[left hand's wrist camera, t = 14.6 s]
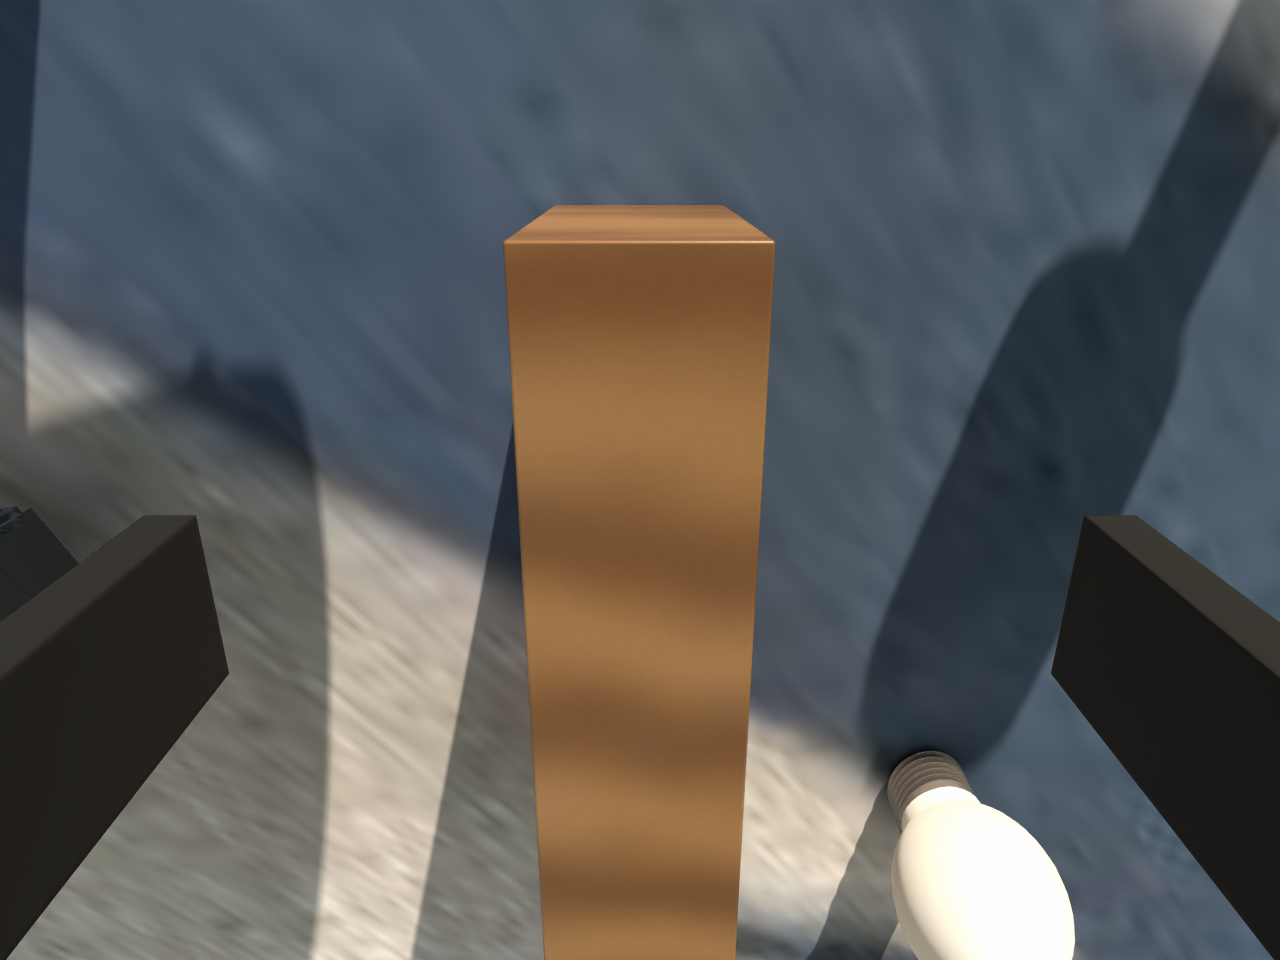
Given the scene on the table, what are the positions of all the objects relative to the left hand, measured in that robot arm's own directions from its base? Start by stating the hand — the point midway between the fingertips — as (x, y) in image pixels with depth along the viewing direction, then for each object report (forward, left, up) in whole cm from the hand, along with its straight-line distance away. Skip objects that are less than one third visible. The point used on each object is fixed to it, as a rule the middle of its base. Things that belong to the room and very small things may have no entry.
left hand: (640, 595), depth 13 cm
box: (+8, -6, -22) cm, 24 cm away
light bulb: (+27, -2, -22) cm, 34 cm away
